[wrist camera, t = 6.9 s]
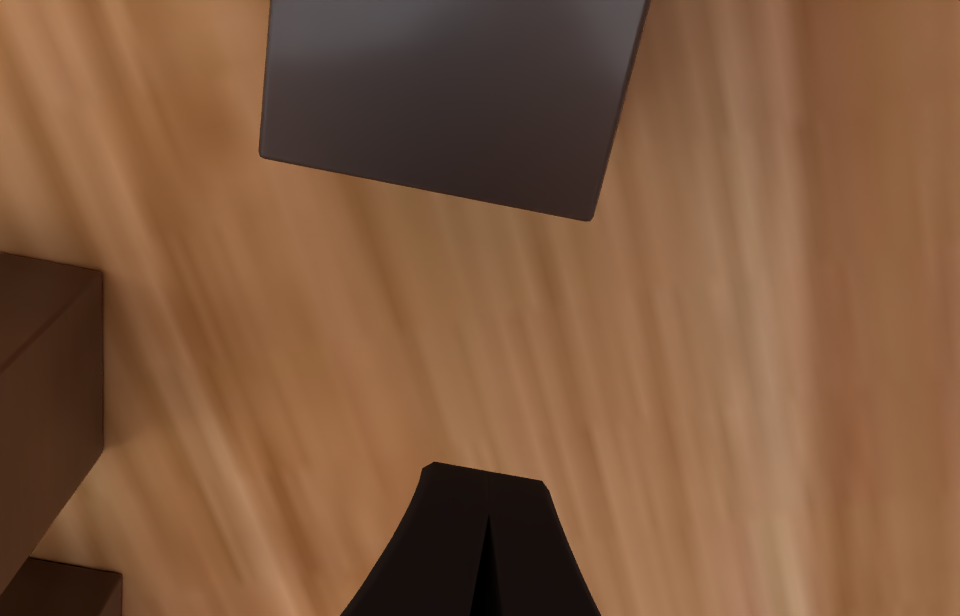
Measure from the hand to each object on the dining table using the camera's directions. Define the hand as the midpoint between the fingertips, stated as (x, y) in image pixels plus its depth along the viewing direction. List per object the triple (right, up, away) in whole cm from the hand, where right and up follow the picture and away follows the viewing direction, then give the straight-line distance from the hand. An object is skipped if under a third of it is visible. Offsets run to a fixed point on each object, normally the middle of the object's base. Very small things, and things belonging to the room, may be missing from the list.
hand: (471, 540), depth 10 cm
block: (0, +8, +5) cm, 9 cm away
